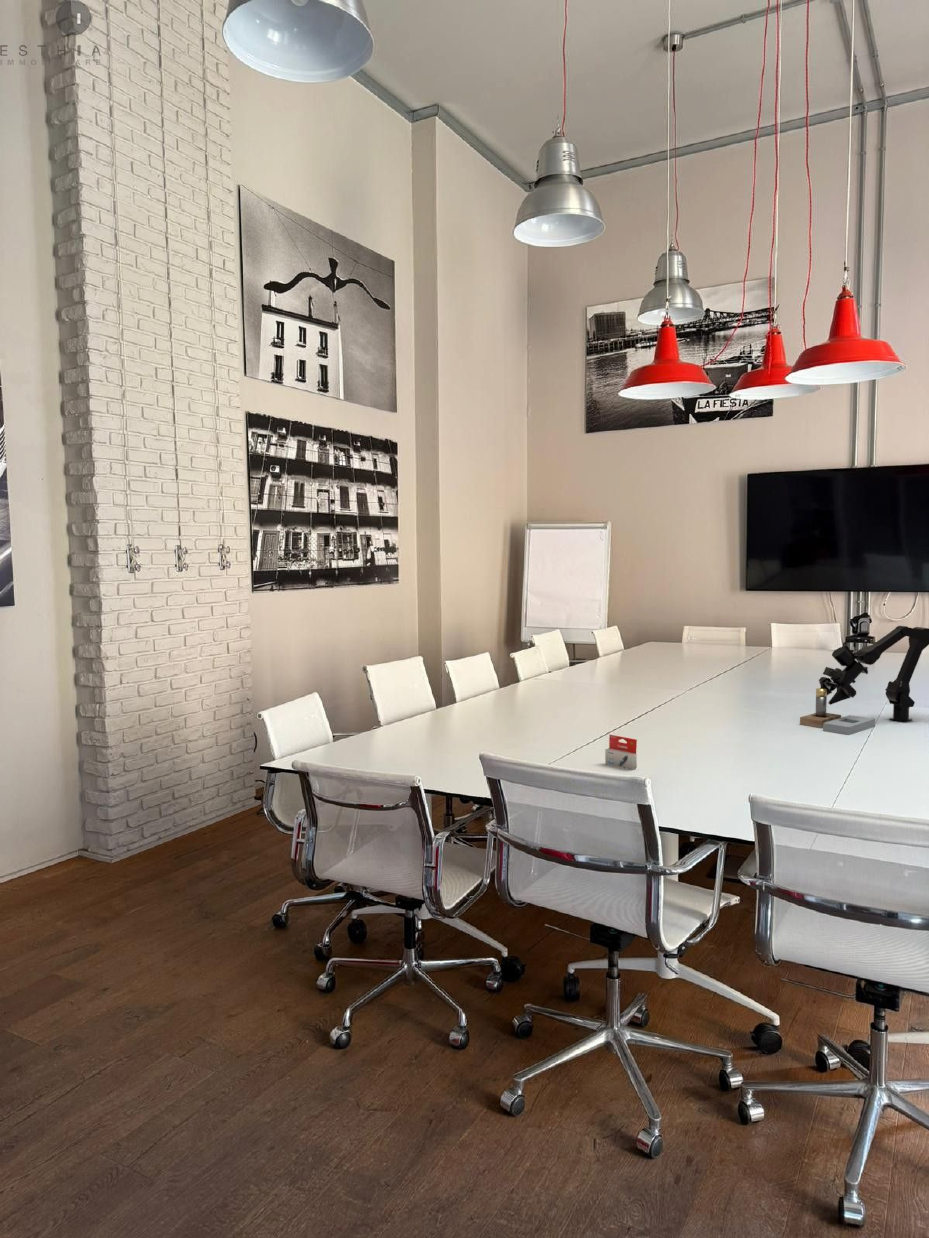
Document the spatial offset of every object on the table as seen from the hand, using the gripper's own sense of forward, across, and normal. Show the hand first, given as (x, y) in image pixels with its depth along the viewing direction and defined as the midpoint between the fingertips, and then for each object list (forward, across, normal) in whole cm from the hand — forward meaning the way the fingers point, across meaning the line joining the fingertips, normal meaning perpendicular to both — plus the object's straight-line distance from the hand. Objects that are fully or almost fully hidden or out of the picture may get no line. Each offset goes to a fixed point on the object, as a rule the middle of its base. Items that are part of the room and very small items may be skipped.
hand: (822, 701), depth 330 cm
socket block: (+7, 0, +6) cm, 9 cm away
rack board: (+3, +11, +10) cm, 15 cm away
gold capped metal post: (+7, 0, +6) cm, 9 cm away
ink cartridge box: (+77, +50, -63) cm, 112 cm away
